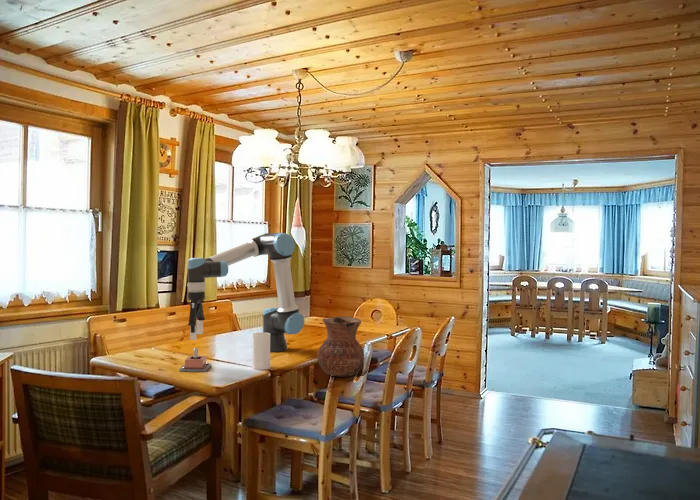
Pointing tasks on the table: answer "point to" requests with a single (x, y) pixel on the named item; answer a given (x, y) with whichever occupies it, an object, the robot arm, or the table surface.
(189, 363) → the link
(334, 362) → the brown clay vase
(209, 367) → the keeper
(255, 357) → the cup
